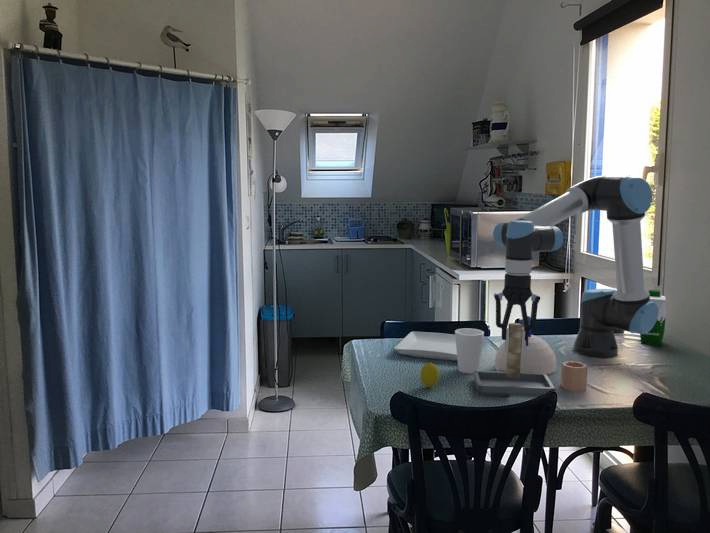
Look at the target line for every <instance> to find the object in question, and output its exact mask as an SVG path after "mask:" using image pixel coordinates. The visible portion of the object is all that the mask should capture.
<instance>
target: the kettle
mask: <svg viewBox="0 0 710 533" xmlns="http://www.w3.org/2000/svg"><path fill="white" fill-rule="evenodd" d="M527 318H528V324H530V319H531V316H529V315H527ZM522 329H524V326H523V325H522ZM493 368H494V369H495V370H496V372H501V371H502V372H506V368H507V352H506V351H505V340H503V342H502V344H501V345H500V346H498V349H497V351H496V353H495V359H494V365H493ZM556 371H557V357H556V355H555V353H554V350H553V349H552V348H551V347H550V345H549V344H548V343H547V342H546V341H545V340H544V339H543V338H541V337H539V336H536V335H534V334H532V329H530V330H529V335H528V341H525V343H524V352H521V363H520V373H544V374H547V375H550V374H553V373H554V372H556Z"/></svg>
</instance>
